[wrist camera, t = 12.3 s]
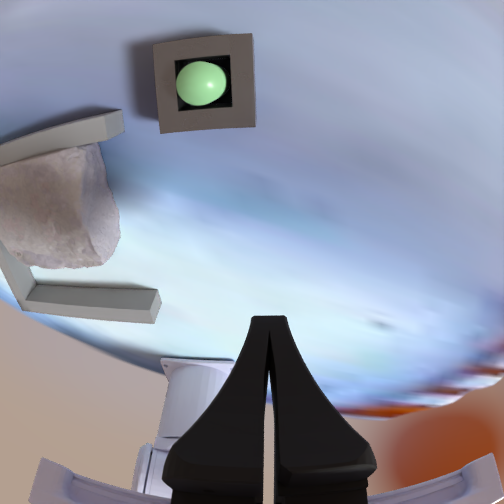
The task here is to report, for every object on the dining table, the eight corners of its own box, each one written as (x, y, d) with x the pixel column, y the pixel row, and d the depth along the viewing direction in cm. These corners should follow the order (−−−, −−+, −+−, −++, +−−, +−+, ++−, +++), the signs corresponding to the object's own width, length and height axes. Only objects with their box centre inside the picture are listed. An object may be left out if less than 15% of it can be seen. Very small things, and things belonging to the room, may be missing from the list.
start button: (231, 98, 16) (223, 103, 13) (195, 100, 16) (177, 107, 13) (230, 63, 15) (221, 59, 12) (192, 66, 15) (174, 64, 12)
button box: (256, 119, 17) (255, 127, 14) (175, 124, 17) (160, 133, 15) (253, 40, 14) (252, 33, 12) (169, 48, 15) (152, 44, 12)
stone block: (138, 235, 24) (100, 123, 17) (119, 279, 21) (63, 156, 14) (40, 239, 25) (-2, 154, 18) (17, 274, 22) (-36, 186, 15)
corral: (161, 303, 25) (154, 323, 23) (33, 295, 26) (22, 310, 24) (121, 109, 17) (104, 115, 14) (-18, 151, 17) (-37, 161, 15)
